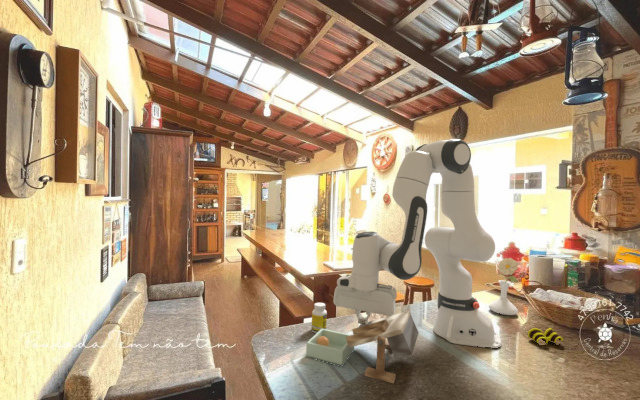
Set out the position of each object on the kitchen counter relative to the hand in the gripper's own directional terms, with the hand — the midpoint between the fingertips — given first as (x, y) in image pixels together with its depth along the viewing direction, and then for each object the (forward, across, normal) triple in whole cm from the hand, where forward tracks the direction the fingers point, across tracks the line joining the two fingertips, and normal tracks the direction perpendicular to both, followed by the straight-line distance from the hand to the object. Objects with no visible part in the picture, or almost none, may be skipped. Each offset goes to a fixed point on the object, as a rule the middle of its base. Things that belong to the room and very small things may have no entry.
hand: (363, 323), depth 104 cm
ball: (+6, +11, +8) cm, 14 cm away
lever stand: (+8, -9, +4) cm, 13 cm away
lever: (+5, -10, +4) cm, 11 cm away
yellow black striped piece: (+8, -57, -34) cm, 67 cm away
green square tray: (+8, +8, +8) cm, 14 cm away
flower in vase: (+8, -47, -60) cm, 77 cm away
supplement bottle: (+8, +18, -5) cm, 20 cm away
